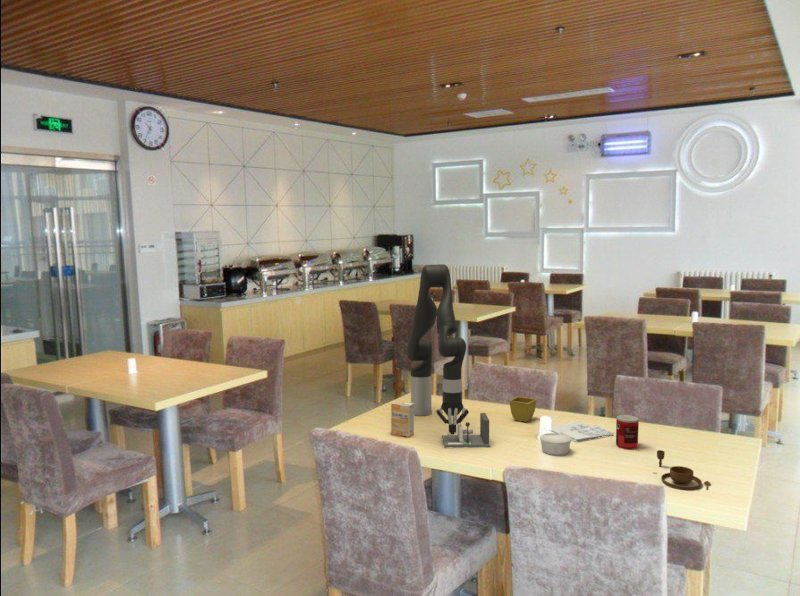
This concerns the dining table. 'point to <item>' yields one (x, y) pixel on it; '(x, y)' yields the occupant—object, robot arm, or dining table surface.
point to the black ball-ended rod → (467, 431)
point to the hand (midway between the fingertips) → (452, 433)
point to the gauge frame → (471, 436)
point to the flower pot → (522, 408)
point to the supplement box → (402, 418)
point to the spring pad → (462, 432)
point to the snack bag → (580, 431)
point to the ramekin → (555, 443)
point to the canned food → (627, 431)
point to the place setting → (680, 475)
